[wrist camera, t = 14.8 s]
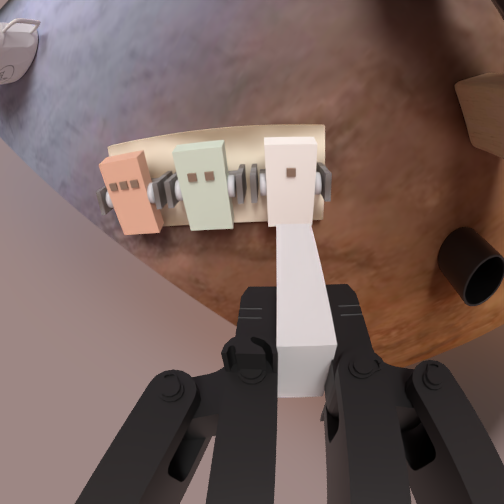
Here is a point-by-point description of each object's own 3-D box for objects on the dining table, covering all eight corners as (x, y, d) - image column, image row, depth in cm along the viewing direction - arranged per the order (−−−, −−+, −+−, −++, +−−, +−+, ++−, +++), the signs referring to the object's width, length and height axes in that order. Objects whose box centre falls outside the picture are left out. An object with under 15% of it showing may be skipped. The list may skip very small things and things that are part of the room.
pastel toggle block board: (112, 145, 31) (85, 156, 26) (322, 124, 29) (336, 129, 24) (129, 225, 37) (109, 247, 32) (321, 216, 35) (331, 239, 30)
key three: (103, 157, 27) (93, 166, 26) (149, 148, 27) (141, 157, 25) (126, 224, 34) (120, 236, 32) (169, 221, 34) (163, 233, 32)
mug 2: (456, 287, 41) (478, 319, 33) (428, 257, 38) (454, 291, 30) (487, 252, 37) (514, 280, 29) (463, 215, 34) (496, 243, 26)
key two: (171, 145, 27) (165, 154, 25) (230, 138, 26) (228, 147, 25) (189, 219, 34) (185, 232, 32) (239, 216, 33) (238, 229, 31)
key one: (257, 137, 26) (257, 146, 24) (319, 136, 26) (324, 145, 24) (262, 215, 33) (262, 228, 31) (314, 213, 33) (317, 226, 31)
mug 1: (7, 94, 25) (-35, 104, 17) (0, 50, 20) (-40, 54, 11) (56, 46, 23) (9, 45, 14) (48, 1, 18) (6, -6, 9)
